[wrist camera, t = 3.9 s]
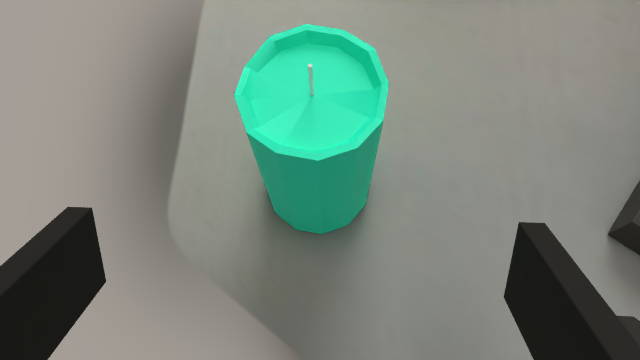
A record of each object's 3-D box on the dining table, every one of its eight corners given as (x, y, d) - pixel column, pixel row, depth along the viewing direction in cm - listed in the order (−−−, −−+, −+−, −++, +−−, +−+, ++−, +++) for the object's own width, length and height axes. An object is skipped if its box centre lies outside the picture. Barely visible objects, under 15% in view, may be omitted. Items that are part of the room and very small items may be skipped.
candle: (330, 120, 30) (330, -28, 19) (390, 196, 28) (430, 82, 17) (247, 172, 29) (195, 48, 18) (304, 255, 27) (285, 174, 16)
